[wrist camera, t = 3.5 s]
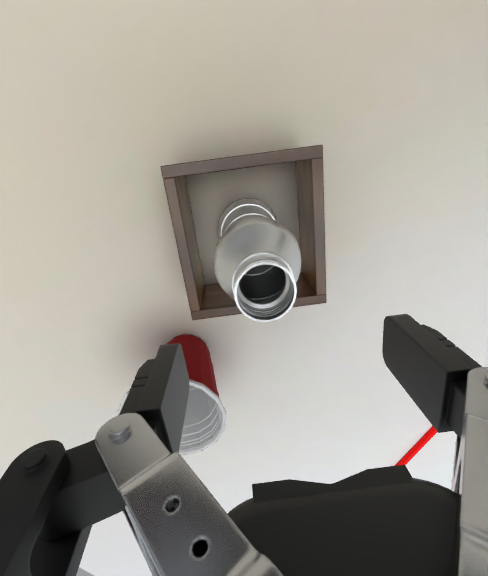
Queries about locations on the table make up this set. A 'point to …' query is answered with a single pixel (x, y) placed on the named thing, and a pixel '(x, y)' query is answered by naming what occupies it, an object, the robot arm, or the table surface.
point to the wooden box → (311, 224)
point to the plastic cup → (199, 398)
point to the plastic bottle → (257, 260)
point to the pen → (417, 446)
